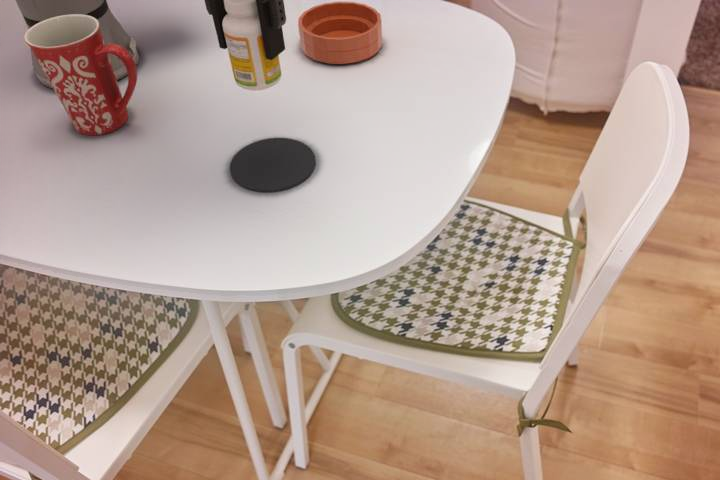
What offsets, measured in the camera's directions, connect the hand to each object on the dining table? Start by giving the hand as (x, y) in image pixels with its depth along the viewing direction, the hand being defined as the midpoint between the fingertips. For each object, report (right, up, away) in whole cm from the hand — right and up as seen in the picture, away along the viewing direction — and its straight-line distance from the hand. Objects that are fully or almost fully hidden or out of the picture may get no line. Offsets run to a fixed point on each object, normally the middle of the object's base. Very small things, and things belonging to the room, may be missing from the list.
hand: (252, 48), depth 68 cm
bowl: (+7, +12, +33) cm, 36 cm away
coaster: (0, -11, +11) cm, 16 cm away
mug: (-24, -4, +18) cm, 31 cm away
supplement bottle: (0, -3, +3) cm, 4 cm away
